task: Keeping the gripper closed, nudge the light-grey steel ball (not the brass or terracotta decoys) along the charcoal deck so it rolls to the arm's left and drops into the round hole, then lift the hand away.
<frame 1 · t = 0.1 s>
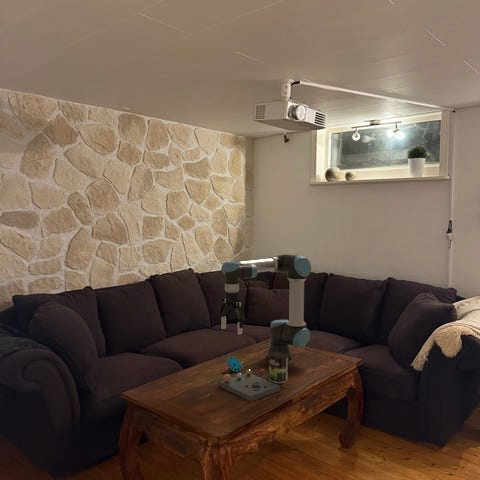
hand: (231, 331, 235), 28 cm above the table, fingers open, 13 cm apart
gear: (234, 370, 256), on the table
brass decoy: (248, 372, 241), point 4 cm above the table, touching deck
terracotta decoy: (227, 378, 231), point 4 cm above the table, touching deck
coffee can: (278, 380, 242), on the table
deck: (248, 387, 230), on the table
steel ball: (239, 376, 235), point 4 cm above the table, touching deck
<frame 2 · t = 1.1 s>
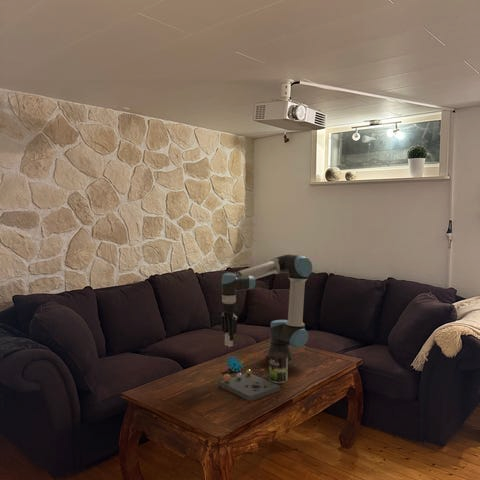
hand: (228, 345, 241), 18 cm above the table, fingers open, 2 cm apart
nothing on the table moved.
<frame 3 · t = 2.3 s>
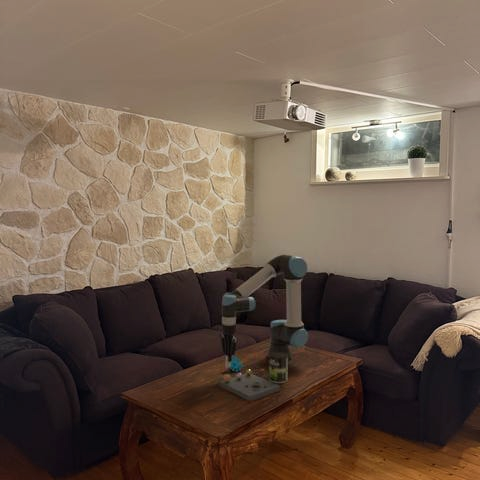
hand: (228, 366, 242), 7 cm above the table, fingers closed
nothing on the table moved.
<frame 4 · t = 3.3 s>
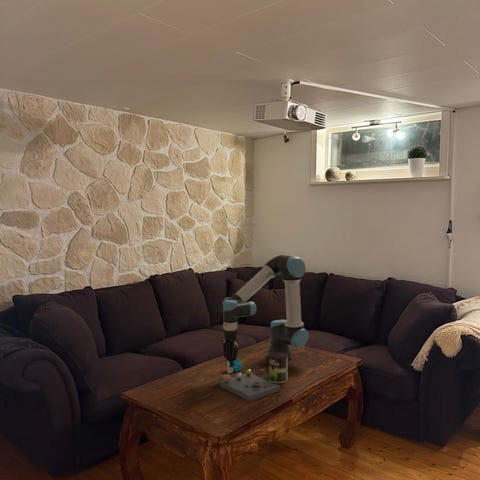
hand: (230, 372, 241), 4 cm above the table, fingers closed
nothing on the table moved.
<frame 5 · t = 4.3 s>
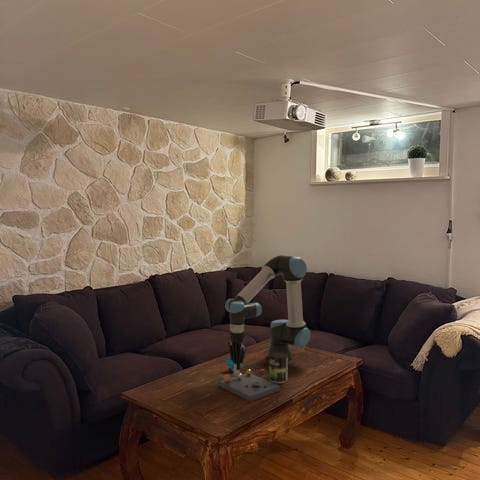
hand: (236, 375, 237), 4 cm above the table, fingers closed
steel ball: (239, 376, 235), point 4 cm above the table, tilted 10°, touching deck, gripper
everything else where it was.
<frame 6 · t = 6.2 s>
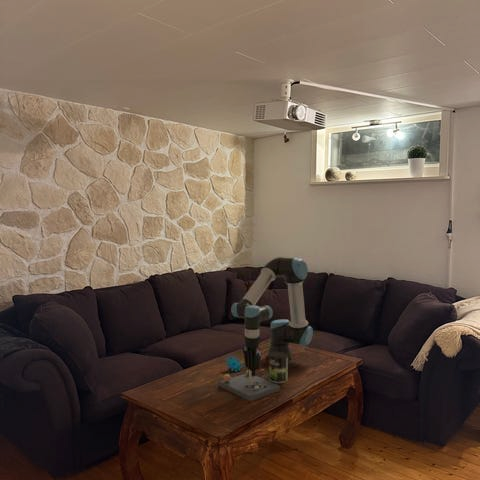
hand: (251, 381, 228), 4 cm above the table, fingers closed
steel ball: (256, 388, 225), point 2 cm above the table, tilted 121°
everything else where it was.
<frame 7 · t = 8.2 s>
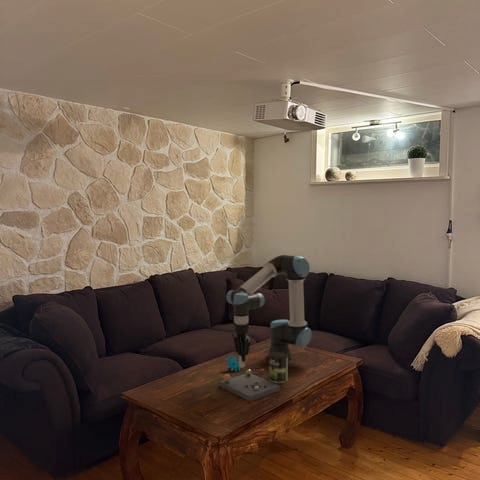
hand: (242, 366, 234), 9 cm above the table, fingers closed
nothing on the table moved.
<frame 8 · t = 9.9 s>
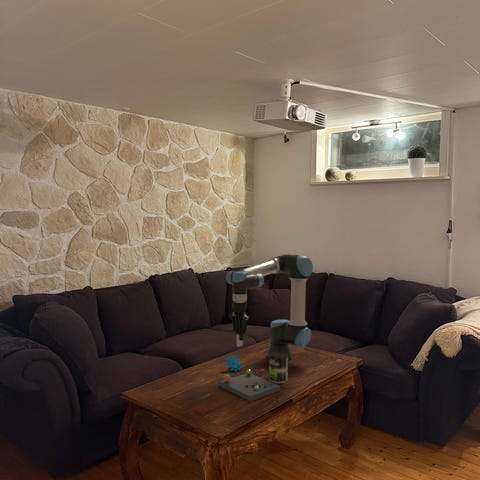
hand: (239, 345, 234), 20 cm above the table, fingers closed
at the end: steel ball 0.6 cm from the target spot in the deck, point 1.6 cm above the deck's base; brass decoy moved 0.0 cm from its start; terracotta decoy moved 0.0 cm from its start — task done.
